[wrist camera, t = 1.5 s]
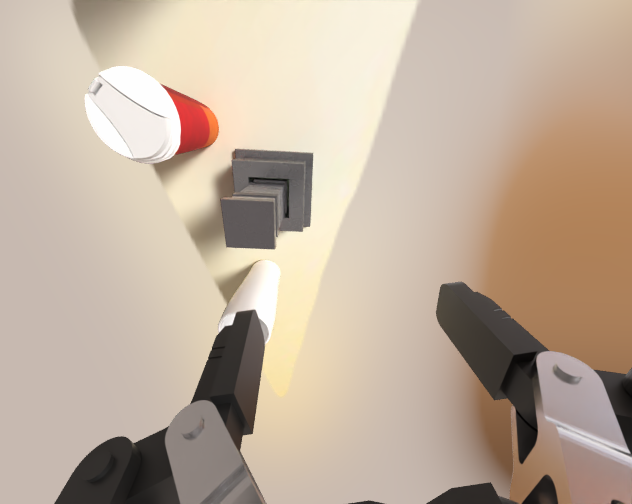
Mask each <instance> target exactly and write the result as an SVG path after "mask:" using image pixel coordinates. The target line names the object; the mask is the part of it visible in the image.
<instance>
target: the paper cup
mask: <svg viewBox="0 0 632 504" xmlns="http://www.w3.org/2000/svg"><path fill="white" fill-rule="evenodd" d="M88 89H89V92H88V94H85V108H86V113H87V116H88V119H89V121H90V123H91V125H92V127H93V129H94V130H95V132H96V133H97V135H98V136H99V137H100V138H101V140H102V141H103V142H104V143H105V144H106V145H107V146H109V147H110V148H111V149H112V150H114V151H115V152H117V153H119V154H120V155H123V156H125V157H127V158H129V159H131V160H134V161H137V162H140V163H148V164H153V163H159V162H162V161H164V160H167V159H170V158H171V157H172V156H173V155H177V154H181V153H185V152H189V151H193V150H197V149H201V148H204V147H207V146H209V145H211V144H212V143H214V142H215V140H216V139H217V136H218V132H219V126H218V122H217V119H216V117H215V115H214V113H213V112H212V111H211V110H210V109H209V108H208V107H207V106H205V105H204V104H202V103H200V102H198V101H196V100H194V99H192V98H190V97H188V96H186V95H184V94H181V93H179V92H177V91H175V90H173V89H171V88H168V87H166V86H164V85H162V84H160V83H158V82H157V81H156V80H155V79H154V78H152V77H151V76H149V75H148V74H146V73H144V72H142V71H141V70H138V69H135V68H132V67H127V66H117V67H112V68H109V69H107V70H104V71H102V72H100V73H99V76H98V77H97V78H94V80H93V82H92V83H91V85H90V86H89V88H88Z"/></svg>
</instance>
